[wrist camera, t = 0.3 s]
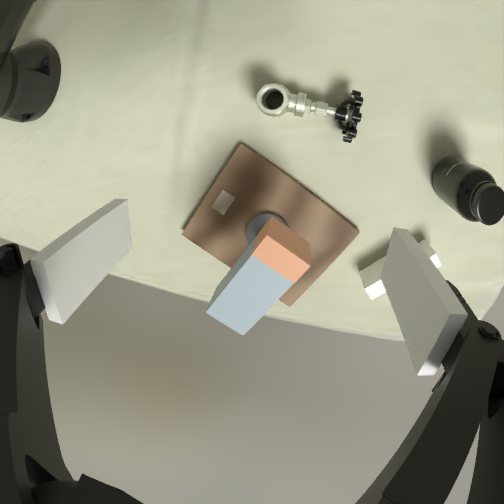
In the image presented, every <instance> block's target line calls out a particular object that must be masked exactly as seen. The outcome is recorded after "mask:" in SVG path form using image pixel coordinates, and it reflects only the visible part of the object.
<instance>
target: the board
mask: <svg viewBox="0 0 504 504" xmlns="http://www.w3.org/2000/svg"><path fill="white" fill-rule="evenodd" d="M271 216H273V217H274V218H276V219H277V220H279V221H280V222H281V223H283V224H284V225H286V226H287V227H288V228H290V229H291V230H292V231H294V232H295V233H297V234H298V235H299V236H301V237H302V238H303V239H305V240H306V241H308V242H309V246H310V263H311V266H310V267H309V268H308V270H307V271H306V272H305V273H304V274H303V275H302V276H301V277H300V278H299V279H298V280H297V281H296V282H295V284H293V285H292V286H291V287H290V288H289V289H288V290H287V291H286V292H285V293H284V294H283V295H282V296H281V297H280V298H279V300H280V301H282V302H283V303H285V304H286V305H288V306H289V307H290V306H291V305H292V304H293V303H294V302H295V301H296V300H297V299H298V298H299V297H300V296H301V295H302V294H303V293H304V292H305V291H306V290H307V289H308V288H309V287H310V286H311V285H312V283H313V282H314V281H315V280H316V279H317V278H318V277H319V276H320V275H321V274H322V273H323V272H324V271H325V270H326V269H327V268H328V267H329V266H330V265H331V263H332V262H333V261H334V260H335V259H336V258H337V257H338V256H339V255H340V254H341V253H342V252H343V251H344V249H345V248H346V247H347V246H348V245H349V244H350V243H351V242H352V241H353V240H354V239H355V237H356V236H357V235H358V234H359V233H360V232H359V230H358V229H357V228H356V227H355V226H354V225H352V224H351V223H350V222H349V221H347V220H346V219H345V218H344V217H342V216H341V215H340V214H339V213H337V212H336V211H335V210H334V209H332V208H331V207H330V206H328V205H327V204H326V203H325V202H323V201H322V200H321V199H319V198H318V197H317V196H316V195H314V194H313V193H312V192H310V191H309V190H308V189H306V188H305V187H304V186H302V185H301V184H300V183H298V182H297V181H296V180H294V179H293V178H291V177H290V176H289V175H287V174H286V173H285V172H283V171H282V170H280V169H279V168H278V167H276V166H275V165H274V164H272V163H271V162H269V161H268V160H266V159H265V158H264V157H262V156H261V155H259V154H258V153H256V152H255V151H254V150H252V149H251V148H249V147H248V146H246V145H245V144H243V143H241V144H240V146H239V147H238V149H237V150H236V152H235V153H234V154H233V156H232V157H231V159H230V160H229V162H228V163H227V165H226V166H225V168H224V169H223V171H222V172H221V174H220V175H219V177H218V178H217V180H216V181H215V183H214V184H213V186H212V187H211V189H210V190H209V192H208V193H207V195H206V197H205V198H204V200H203V201H202V203H201V204H200V206H199V207H198V209H197V211H196V212H195V214H194V215H193V217H192V219H191V220H190V222H189V223H188V225H187V227H186V228H185V230H184V231H183V233H182V235H183V236H185V237H186V238H188V239H189V240H190V241H192V242H193V243H195V244H196V245H198V246H199V247H201V248H202V249H204V250H205V251H207V252H208V253H210V254H211V255H213V256H214V257H216V258H217V259H218V260H220V261H221V262H223V263H224V264H226V265H227V266H229V267H230V268H232V267H233V266H234V264H235V263H236V262H237V261H238V259H239V258H240V257H241V255H242V254H243V253H244V252H245V250H246V249H247V248H248V246H249V245H250V244H251V243H252V241H253V240H254V239H255V237H256V236H257V235H258V233H259V231H260V230H261V229H262V228H263V226H264V225H265V224H266V222H267V221H268V220H269V219H270V217H271Z"/></svg>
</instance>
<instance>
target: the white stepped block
mask: <svg viewBox="0 0 504 504" xmlns="http://www.w3.org/2000/svg"><path fill="white" fill-rule="evenodd" d="M418 244H419V245H420V246H421V247H422V249H423V250H424V251H425V253H426V254H427V255H428V257H429V258H430V259H431V261H432V262H433V264H434V265H435V266H436V268H439V267H440V266H441V263H440V261H439V258H438V256H437V254H436V252H435V251H434V250H433V248H432V247H431V246H430V245H429V244H428V242H427V241H426V240H425V239H424V240H422V241H421V242H419V243H418ZM385 258H386V256H384V257H383V258H381V259H379V260H378V261H376V262H374V263H373V264H371V265H369V266H368V267H366V268H364V269H363V270H361V271H359V272H360V275H361V279H362V282H363V285H364V288H365V290H366V292H367V293H368V295H369V296H370V298H371V300H373V299H374V298H376V297H378V296H380V295H382V294H383V293H385V292H386V290H385V288H384V285H383V283H382V280H381V278H380V275H381V272H382V269H383V265H384V262H385Z"/></svg>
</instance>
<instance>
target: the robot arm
mask: <svg viewBox="0 0 504 504" xmlns="http://www.w3.org/2000/svg"><path fill="white" fill-rule="evenodd" d="M36 1H37V0H0V118H3V119H7V120H11V121H16V122H29V121H33V120H36V119H38V118H40V117H41V116H42V115H43V114H44V113H45V112H46V111H47V110H48V108H49V107H50V105H51V104H52V102H53V100H54V98H55V95H56V93H57V90H58V86H59V81H60V60H59V56H58V53H57V51H56V50H55V48H54V47H53V46H52V45H50V44H48V43H43V42H32V43H29V44H26V45H23V46H20V47H17V48H15V49H12V50H10V49H11V47H12V45H13V43H14V41H15V38H16V36H17V34H18V32H19V30H20V28H21V26H22V24H23V22H24V20H25V18H26V16H27V14H28V13H29V11H30V9H31V7H32V5H33V4H34V2H36ZM131 249H132V240H131V231H130V221H129V210H128V200H127V199H114V200H113V201H111V202H110V203H108V204H106V205H105V206H103V207H102V208H100V209H99V210H97V211H96V212H94V213H93V214H91V215H90V216H88V217H87V218H85V219H84V220H82V221H81V222H80V223H78V224H77V225H75V226H74V227H72V228H71V229H70V230H68V231H67V232H65V233H64V234H63V235H61V236H60V237H59V238H57V239H56V240H54V241H53V242H52V243H50V244H49V245H48V246H46V247H45V248H44V249H43V250H41V251H40V252H39V253H37V254H36V255H35V256H34V257H33V258H31V259H30V260H29V261H28V262H27V263H25V264H23V260H22V257H21V253H20V250H19V245H17V244H14V243H11V244H6V245H3V246H1V247H0V504H143V503H141V502H140V501H138V500H136V499H135V498H133V497H132V496H130V495H128V494H127V493H125V492H124V491H122V490H120V489H118V488H115V487H112V486H110V485H107V484H105V483H102V482H100V481H98V480H95V479H93V478H91V477H89V476H86V475H84V474H82V475H81V477H80V479H79V481H74V480H73V478H72V476H71V475H70V473H69V471H68V470H67V468H66V466H65V464H64V461H63V458H62V455H61V451H60V447H59V443H58V439H57V434H56V429H55V424H54V419H53V414H52V408H51V403H50V396H49V389H48V381H47V373H46V363H45V352H44V336H43V320H42V317H41V314H40V313H41V312H42V311H43V309H46V312H47V315H48V317H49V320H51V321H54V322H57V323H60V324H64V323H65V321H66V320H67V319H68V318H69V317H70V316H71V314H72V313H73V312H74V311H75V310H76V308H77V307H78V306H79V305H80V304H81V303H82V302H83V301H84V299H85V298H86V297H87V296H88V295H89V294H90V293H91V291H93V289H94V288H95V287H96V286H97V285H98V284H99V283H100V282H101V281H102V279H103V278H104V277H105V276H106V275H107V274H108V273H109V272H110V271H111V270H112V269H113V268H114V267H115V266H116V265H117V264H118V262H119V261H120V260H121V259H122V258H123V257H124V256H125V255H126V254H127V253H128V252H129V251H130V250H131ZM380 278H381V280H382V283H383V285H384V288H385V290H386V292H387V295H388V297H389V300H390V302H391V305H392V307H393V310H394V312H395V315H396V318H397V320H398V323H399V325H400V328H401V331H402V333H403V336H404V339H405V342H406V344H407V347H408V350H409V353H410V356H411V359H412V362H413V365H414V368H415V371H416V374H417V375H434V374H435V373H436V371H437V370H438V368H439V366H440V365H441V363H442V365H443V367H444V370H445V372H444V373H443V375H442V376H441V378H440V379H439V381H438V382H437V384H436V385H435V387H434V388H433V390H432V392H433V393H432V395H431V397H430V398H429V400H428V402H427V404H426V406H425V408H424V409H423V411H422V413H421V414H420V416H419V417H418V419H417V421H416V422H415V424H414V426H413V427H412V429H411V430H410V432H409V433H408V435H407V437H406V438H405V440H404V441H403V443H402V444H401V446H400V447H399V449H398V450H397V451H396V453H395V454H394V456H393V457H392V459H391V460H390V461H389V463H388V464H387V465H386V467H385V468H384V469H383V471H382V472H381V473H380V475H379V476H378V477H377V478H376V480H375V481H374V482H373V483H372V485H371V486H370V487H369V488H368V490H367V491H366V492H365V493H364V494H363V496H362V497H361V498H360V499H359V500H358V501H357V502H356V503H355V504H444V502H445V500H446V499H447V497H448V495H449V493H450V491H451V489H452V487H453V485H454V483H455V481H456V479H457V477H458V475H459V473H460V471H461V469H462V467H463V464H464V462H465V460H466V457H467V455H468V453H469V450H470V448H471V446H472V443H473V441H474V438H475V435H476V433H477V430H478V427H479V424H480V431H479V440H478V448H477V455H476V462H475V467H474V473H473V478H472V483H471V488H470V493H469V497H468V501H467V504H504V340H502V339H501V335H500V333H499V331H498V330H497V329H496V328H495V327H494V326H493V325H491V324H490V323H488V322H485V321H481V320H478V319H477V318H476V316H475V314H474V313H473V311H472V310H471V308H470V307H469V305H468V304H467V303H466V301H465V299H464V298H463V297H462V295H461V293H460V292H459V291H458V289H457V288H456V287H455V286H454V285H453V284H452V283H450V282H449V281H447V280H445V279H444V277H443V276H442V275H441V273H440V272H439V270H438V269H437V268H436V266H435V265H434V264H433V262H432V261H431V259H430V258H429V257H428V255H427V254H426V253H425V251H424V250H423V249H422V247H421V246H420V245H419V244H418V242H417V241H416V240H415V238H414V237H413V236H412V235H411V233H410V232H409V231H408V230H407V229H401V228H393V232H392V236H391V240H390V244H389V247H388V251H387V255H386V258H385V262H384V265H383V269H382V272H381V275H380Z"/></svg>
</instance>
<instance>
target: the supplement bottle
mask: <svg viewBox="0 0 504 504" xmlns="http://www.w3.org/2000/svg"><path fill="white" fill-rule="evenodd" d="M432 182H433V188H434V190H435V192H436V194H437V195H438V197H439V198H440V199H442V200H443V201H444V202H445V203H446V204H448V205H449V206H450V207H451V208H452V209H454V210H455V211H456V212H457V213H458V214H460V215H461V216H462V217H463V218H465V219H466V220H468V221H471V222H479V221H480V222H481V223H483V224H485V225H493V224H495V223H497V222H498V221H500V219H501V218H502V217H503V215H504V192H503V190H502V189H501V188H500V187H499V186H497V184H496V182H495V180H494V178H493V176H492V175H491V174H490V173H489V172H487V171H486V170H484V169H482V168H480V167H477V166H475V165H473V164H471V163H469V162H467V161H464V160H462V159H459V158H456V157H448V158H445V159H443V160H441V161H440V162H439V163H438V165H437V166H436V168H435V170H434V173H433V178H432Z"/></svg>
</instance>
